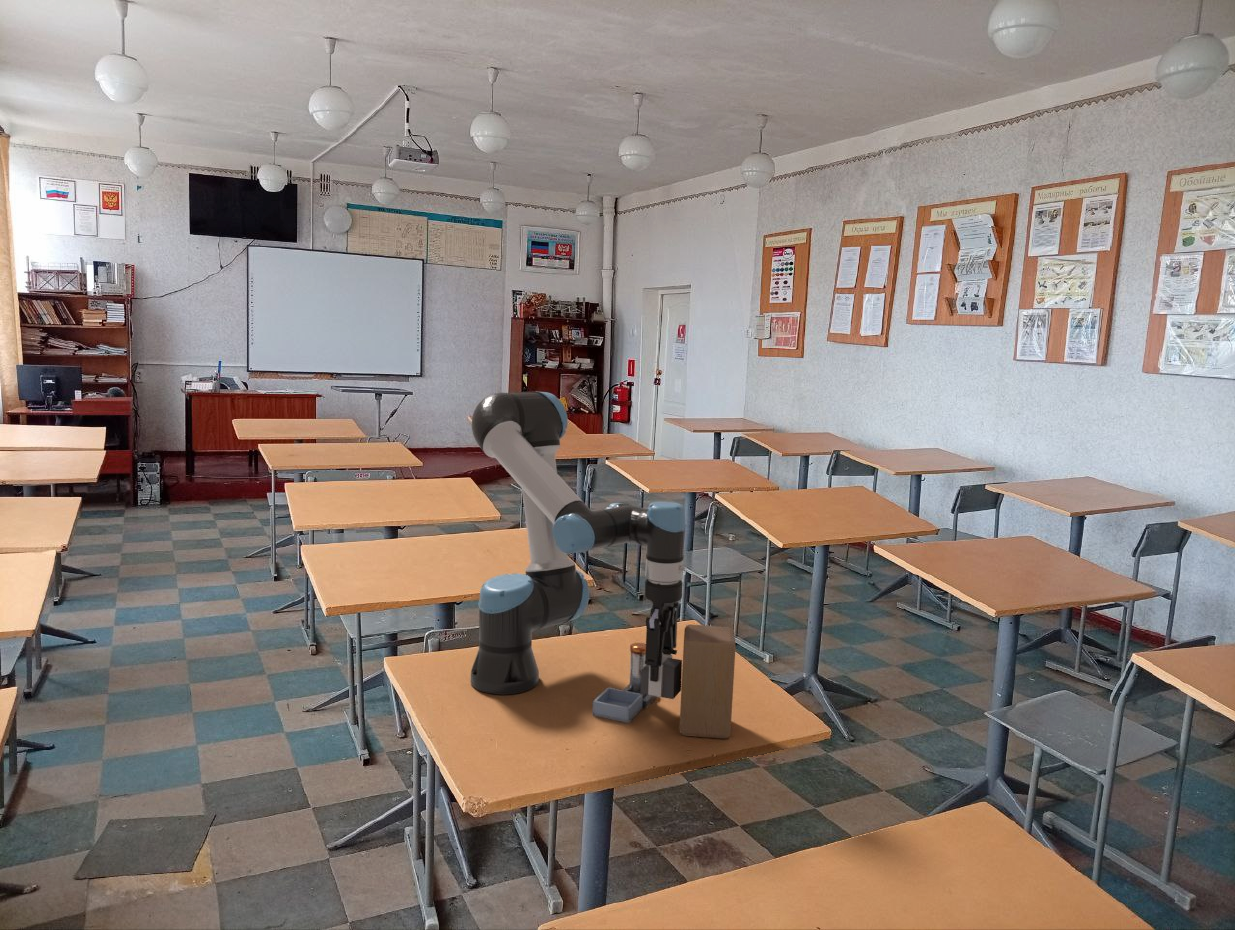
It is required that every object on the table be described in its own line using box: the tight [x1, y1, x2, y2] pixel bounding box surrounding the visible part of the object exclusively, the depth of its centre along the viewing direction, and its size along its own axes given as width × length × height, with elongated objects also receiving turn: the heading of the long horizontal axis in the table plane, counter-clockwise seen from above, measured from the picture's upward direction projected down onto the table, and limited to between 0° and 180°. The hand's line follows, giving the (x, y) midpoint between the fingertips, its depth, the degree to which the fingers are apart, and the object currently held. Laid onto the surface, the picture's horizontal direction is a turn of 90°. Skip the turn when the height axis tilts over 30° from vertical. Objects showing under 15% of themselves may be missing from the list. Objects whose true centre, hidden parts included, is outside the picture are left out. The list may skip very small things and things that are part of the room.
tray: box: [592, 686, 643, 724], centre depth 180 cm, size 8×8×3 cm
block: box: [678, 624, 737, 739], centre depth 173 cm, size 10×10×20 cm
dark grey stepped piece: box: [641, 657, 683, 700], centre depth 177 cm, size 7×5×6 cm
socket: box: [623, 683, 658, 709], centre depth 187 cm, size 7×7×2 cm
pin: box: [629, 642, 646, 699], centre depth 186 cm, size 4×4×12 cm
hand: (659, 689), depth 177 cm, fingers closed on dark grey stepped piece, 5 cm apart
